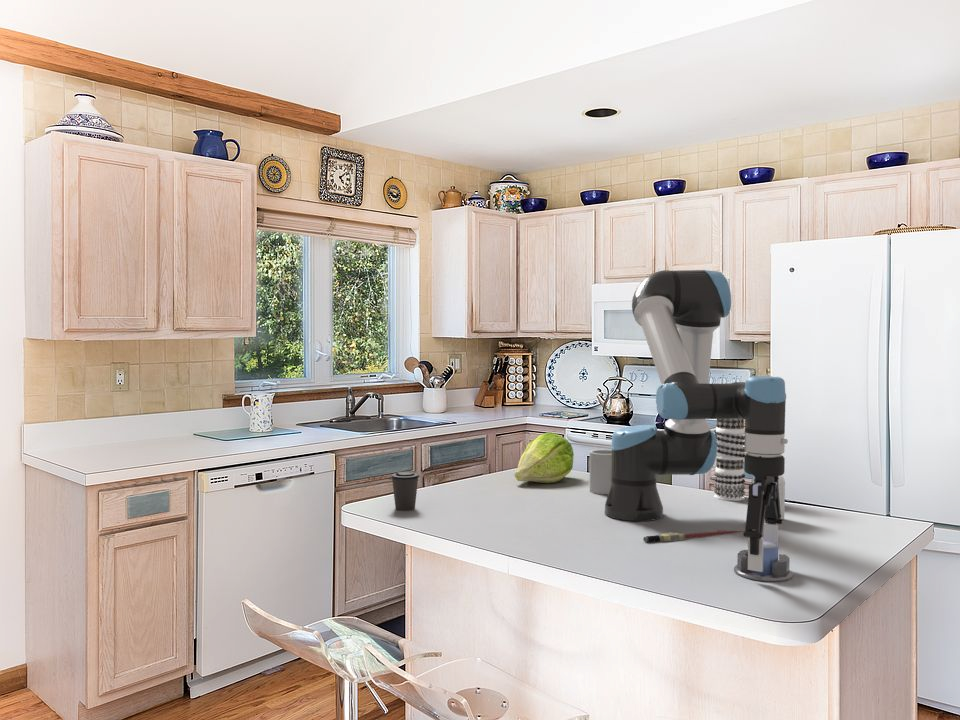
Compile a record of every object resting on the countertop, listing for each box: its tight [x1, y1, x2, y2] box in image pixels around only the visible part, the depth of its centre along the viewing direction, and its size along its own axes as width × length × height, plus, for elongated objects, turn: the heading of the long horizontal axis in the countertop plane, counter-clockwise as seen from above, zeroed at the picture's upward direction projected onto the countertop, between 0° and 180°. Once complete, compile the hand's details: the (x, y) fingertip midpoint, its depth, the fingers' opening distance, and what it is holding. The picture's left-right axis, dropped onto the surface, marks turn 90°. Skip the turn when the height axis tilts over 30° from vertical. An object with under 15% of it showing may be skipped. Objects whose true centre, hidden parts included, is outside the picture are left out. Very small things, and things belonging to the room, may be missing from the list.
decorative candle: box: [713, 419, 746, 502], centre depth 223 cm, size 9×9×25 cm
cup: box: [588, 449, 612, 495], centre depth 232 cm, size 9×9×12 cm
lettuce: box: [514, 431, 575, 484], centre depth 249 cm, size 15×25×16 cm
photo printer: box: [750, 475, 786, 523], centre depth 196 cm, size 10×4×12 cm, turn 123°
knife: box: [642, 530, 745, 543], centre depth 183 cm, size 29×2×5 cm
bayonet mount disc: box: [733, 549, 794, 583], centre depth 154 cm, size 11×11×4 cm
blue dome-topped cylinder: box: [749, 541, 779, 575], centre depth 153 cm, size 6×6×5 cm
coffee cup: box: [390, 470, 421, 512], centre depth 210 cm, size 8×8×10 cm
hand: (763, 562), depth 153 cm, fingers open, 11 cm apart
